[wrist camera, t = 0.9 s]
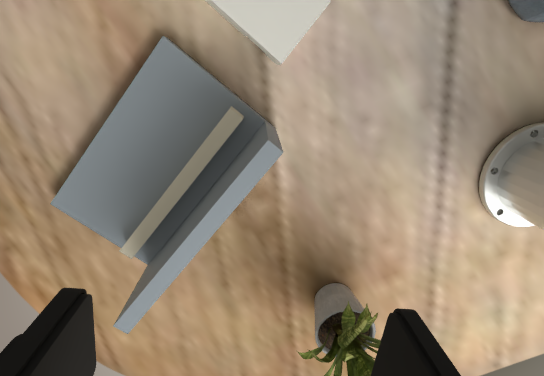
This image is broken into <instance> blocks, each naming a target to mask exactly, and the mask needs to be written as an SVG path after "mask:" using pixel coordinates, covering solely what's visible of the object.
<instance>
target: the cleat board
mask: <svg viewBox="0 0 544 376" xmlns="http://www.w3.org/2000/svg"><path fill="white" fill-rule="evenodd" d="M282 153H283V150H282V147H281V143H280V140H279V137H278V134H277V131H276V128H275V127H274V126H273V125H271V124H270V123H269V122H268V121H267V120H265V119H264V118H263V117H262V116H261V115H259V114H258V113H257V112H256V111H255V110H253V109H252V108H251V107H250V106H249V105H247V104H246V103H245V102H244V101H243V100H241V99H240V98H239V97H238V96H237V95H235V94H234V93H233V92H232V91H231V90H229V89H228V88H227V87H226V86H225V85H223V84H222V83H221V82H220V81H219V80H217V79H216V78H215V77H214V76H213V75H211V74H210V73H209V72H208V71H207V70H205V69H204V68H203V67H202V66H201V65H199V64H198V63H197V62H196V61H195V60H193V59H192V58H191V57H190V56H189V55H188V54H186V53H185V52H184V51H183V50H182V49H180V48H179V47H178V46H177V45H176V44H174V43H173V42H172V41H171V40H170V39H168V38H167V37H165V36H163V37H162V38H161V40H160V41H159V43H158V44H157V46H156V47H155V49H154V50H153V51H152V53H151V54H150V56H149V57H148V59H147V60H146V62H145V63H144V65H143V66H142V68H141V69H140V71H139V72H138V74H137V75H136V77H135V78H134V80H133V81H132V83H131V84H130V86H129V87H128V89H127V90H126V92H125V93H124V95H123V96H122V98H121V99H120V101H119V102H118V104H117V105H116V107H115V108H114V110H113V111H112V113H111V114H110V116H109V117H108V119H107V120H106V122H105V123H104V125H103V126H102V127H101V129H100V130H99V132H98V133H97V135H96V136H95V138H94V139H93V141H92V142H91V144H90V145H89V147H88V148H87V150H86V151H85V153H84V154H83V156H82V157H81V159H80V160H79V162H78V163H77V165H76V166H75V168H74V169H73V171H72V172H71V174H70V175H69V177H68V178H67V180H66V181H65V183H64V184H63V186H62V187H61V189H60V190H59V192H58V193H57V195H56V196H55V198H54V199H53V201H52V202H51V205H53V206H54V207H56V208H58V209H59V210H61V211H62V212H64V213H66V214H67V215H69V216H70V217H72V218H74V219H75V220H77V221H78V222H80V223H82V224H83V225H85V226H87V227H88V228H90V229H91V230H93V231H95V232H96V233H98V234H99V235H101V236H103V237H104V238H106V239H107V240H109V241H111V242H112V243H114V244H115V245H117V246H119V247H120V248H121V250H120V252H121V253H123V254H125V255H126V256H128V257H129V258H131V259H132V258H133V257H134V256H135V257H136V258H138V259H140V260H141V261H143V262H144V263H146V264H148V266H147V267H146V269H145V271H144V273H143V274H142V276H141V278H140V280H139V282H138V283H137V285H136V287H135V289H134V290H133V292H132V294H131V296H130V297H129V299H128V301H127V303H126V304H125V306H124V308H123V310H122V312H121V313H120V315H119V317H118V319H117V320H116V322H115V324H114V327H116V328H118V329H119V330H121V331H123V332H125V333H127V334H128V333H129V332H130V331H131V330H132V329H133V327H134V326H135V325H136V324H137V323H138V322H139V320H140V319H141V318H142V317H143V316H144V315H145V313H146V312H147V311H148V310H149V309H150V308H151V306H152V305H153V304H154V303H155V302H156V301H157V299H158V298H159V297H160V296H161V295H162V294H163V292H164V291H165V290H166V289H167V288H168V287H169V285H170V284H171V283H172V282H173V281H174V280H175V278H176V277H177V276H178V275H179V274H180V273H181V271H182V270H183V269H184V268H185V267H186V266H187V264H188V263H189V262H190V261H191V260H192V259H193V257H194V256H195V255H196V254H197V253H198V252H199V250H200V249H201V248H202V247H203V246H204V245H205V243H206V242H207V241H208V240H209V239H210V237H211V236H212V235H213V234H214V233H215V232H216V230H217V229H218V228H219V227H220V226H221V225H222V223H223V222H224V221H225V220H226V219H227V218H228V216H229V215H230V214H231V213H232V212H233V211H234V209H235V208H236V207H237V206H238V205H239V204H240V202H241V201H242V200H243V199H244V198H245V197H246V195H247V194H248V193H249V192H250V191H251V190H252V188H253V187H254V186H255V185H256V184H257V183H258V181H259V180H260V179H261V178H262V177H263V176H264V174H265V173H266V172H267V171H268V170H269V169H270V167H271V166H272V165H273V164H274V163H275V162H276V160H277V159H278V158H279V157H280V156H281V155H282Z"/></svg>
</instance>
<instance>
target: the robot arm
mask: <svg viewBox="0 0 544 376" xmlns="http://www.w3.org/2000/svg"><path fill="white" fill-rule="evenodd" d="M479 194H480V198H481V202H482V204H483V206H484V207H485V209H486V210H487V211H488V212H489V214H490V215H491V216H493V217H494V218H496V219H497V220H499V221H501V222H503V223H505V224H507V225H511V226H515V227H529V226H537V227H539V228H541V229H542V230H544V122H542V123H535V124H532V125H528V126H525V127H523V128H521V129H519V130H517V131H515V132H513V133H512V134H510V135H509V136H508V137H506V138H505V139H504V140H503V141H502V142H501V143H499V144H498V145H497V146H496V148H495V149H494V150H493V151H492V153H491V154H490V155H489V157H488V159H487V161H486V162H485V164H484V166H483V169H482V172H481V175H480V181H479ZM95 368H96V351H95V335H94V319H93V303H92V296H91V295H90V294H87V293H86V290H85V289H77V288H62V289H61V290H60V291H59V292H58V294H57V295H56V296H55V297H54V298H53V299H52V301H51V302H50V303H49V304H48V305H47V306H46V307H45V309H44V310H43V311H42V312H41V313H40V314H39V316H38V317H37V318H36V319H35V320H34V321H33V323H32V324H31V325H30V326H29V327H28V329H27V330H26V331H25V332H24V333H23V334H20V335H18V336H16V337H15V338H14V339H13V340H12V341H11V342H10V343H9V344H8V345H7V346H6V347H5V349H4V350H3V351H2V352H1V353H0V376H93V375H94V372H95ZM371 376H461V375H460V374H459V372H458V371H457V369H456V368H455V366H454V365H453V364H452V362H451V361H450V359H449V358H448V356H447V355H446V354H445V352H444V351H443V349H442V348H441V346H440V345H439V343H438V342H437V341H436V339H435V338H434V336H433V335H432V333H431V332H430V331H429V329H428V328H427V326H426V325H425V323H424V322H423V320H422V319H421V318H420V316H419V315H418V313H417V312H416V311H415V310H411V309H395V310H394V312H393V313H390V314H389V316H388V319H387V323H386V326H385V329H384V332H383V336H382V339H381V342H380V346H379V349H378V352H377V356H376V359H375V362H374V366H373V369H372V372H371Z"/></svg>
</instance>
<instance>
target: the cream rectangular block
mask: <svg viewBox="0 0 544 376" xmlns="http://www.w3.org/2000/svg"><path fill="white" fill-rule="evenodd" d="M205 1H206V2H207V3H208V4H209V5H210V6H211V7H213V8H214V9H215V10H216V11H217V12H218V13H219V14H220V15H221V16H223V17H224V18H225V19H226V20H227V21H228V22H229V23H230V24H231V25H233V26H234V27H235V28H236V29H237V30H238V31H239V32H240V33H241V34H243V35H244V36H245V37H246V36H247V37H248V38H249V39H250V40H251V41H252V42H254V43H255V44H256V45H257V46H258V47H259V48H260V49H261V50H262V51H264V52H265V53H266V56H267V57H268V58H269V59H270V60H272V61H273V62H274V63H275V64H276V65H280V64H282V63H283V62H284V60H285V59H286V58H287V57H288V55H289V54H290V53H291V51H292V50H293V49H294V48H295V46H296V45H297V44H298V43H299V41H300V40H301V39H302V38H303V36H304V35H305V34H306V32H307V31H308V30H309V29H310V27H311V26H312V25H313V24H314V22H315V21H316V20H317V19H318V17H319V16H320V15H321V14H322V12H323V11H324V10H325V8H326V7H327V6H328V5H329V3H330V2H331V0H205Z"/></svg>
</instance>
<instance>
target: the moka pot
mask: <svg viewBox="0 0 544 376" xmlns="http://www.w3.org/2000/svg"><path fill="white" fill-rule="evenodd" d="M508 1H509V4H510V6H511V7H512V8H513V9H514V11H515V12H516V13H517V14H518V16H519V17H520V18H521V19H522V20H524V21H529V22H544V0H508Z"/></svg>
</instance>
